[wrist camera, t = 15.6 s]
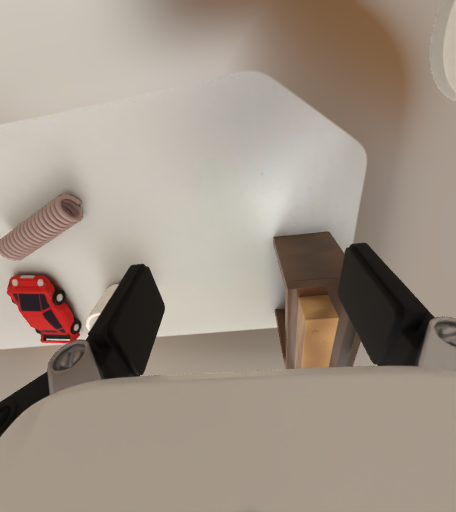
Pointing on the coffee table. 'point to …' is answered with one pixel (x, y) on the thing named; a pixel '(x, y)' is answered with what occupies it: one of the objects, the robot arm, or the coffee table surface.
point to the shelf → (312, 291)
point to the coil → (41, 227)
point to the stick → (315, 331)
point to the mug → (100, 306)
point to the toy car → (43, 308)
